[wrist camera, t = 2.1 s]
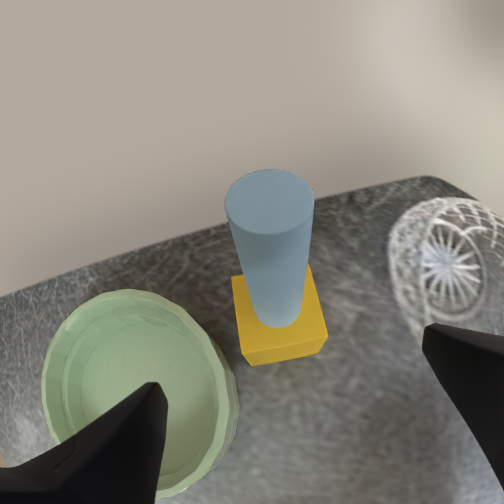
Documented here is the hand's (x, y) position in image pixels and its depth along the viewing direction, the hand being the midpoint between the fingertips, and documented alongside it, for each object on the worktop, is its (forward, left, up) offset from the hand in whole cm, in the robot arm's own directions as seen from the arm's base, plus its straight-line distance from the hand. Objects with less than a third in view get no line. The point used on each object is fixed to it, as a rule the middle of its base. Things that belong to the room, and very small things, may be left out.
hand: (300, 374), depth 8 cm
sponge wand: (+5, +1, -12) cm, 13 cm away
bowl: (-3, +11, -12) cm, 16 cm away
